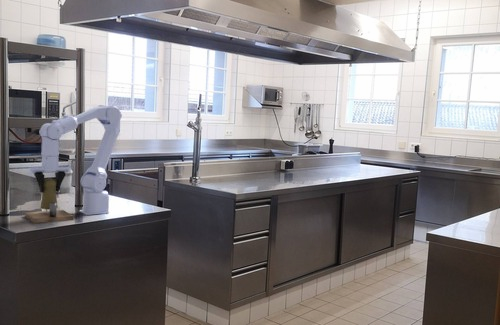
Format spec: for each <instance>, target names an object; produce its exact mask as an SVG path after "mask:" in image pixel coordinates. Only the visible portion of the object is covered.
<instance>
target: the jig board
mask: <svg viewBox="0 0 500 325" xmlns="http://www.w3.org/2000/svg"><path fill="white" fill-rule="evenodd" d="M49 215H50V210H43V211H29V212H27V211H26V212H25V213H24V217H25V218H27V219H28V220H29V221H30V222H31V223H33V224H39V223H50V222H61V221H72V220H74V215H73V214H71V213H70V212H67V211H66V210H64V209H57V215H56V217H49Z"/></svg>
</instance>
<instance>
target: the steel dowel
mask: <svg viewBox="0 0 500 325" xmlns="http://www.w3.org/2000/svg"><path fill="white" fill-rule="evenodd" d="M57 206H58V202H57V203H50V209H49V211H50V215H49V217H56V215H57V210H58V209H57Z"/></svg>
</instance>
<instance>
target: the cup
mask: <svg viewBox="0 0 500 325" xmlns="http://www.w3.org/2000/svg"><path fill="white" fill-rule="evenodd" d="M65 173H66V175H65V177H64V179H63V181H62V183H61V186H60V190H59V193H60V194H66V193H67V194H70V193H71V187H72V180H73V179H72V178H73V173H74V171H73V170H72V168H71V169H70V172H65Z"/></svg>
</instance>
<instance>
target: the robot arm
mask: <svg viewBox="0 0 500 325" xmlns="http://www.w3.org/2000/svg"><path fill="white" fill-rule="evenodd" d="M122 116H123V114H122V111H120V108H119V107H117V106H116V105H102V104H100V105H98V106H94V107H92V108H89V109H88V110H86V111H83V112H81V113H79V114H77V115H75V116H72V115H69V114H64V115H63V116H62V117H61V118H59V119H57V120H56V119H53V120H52V121H51V123H49V122H48V123H43V125H42V126H41V127H40V129H39V130H38V132H39V135H40V136H41V166H33V167H28V173H29V174H33V176H34V177H35V179H36V181H37V184H38V188H39V193H40V194H43V192H44V179H45V174H47V173H52V174H53V173H54V175H55V180H56V182H57V185H56V187H55V191H56V193H58V192H59V193H60V186H61V183H62V181H63V179H64V177H65V175H66V173H65V172H70V169H72V168H71V167H70V166H59V157H60V156H59V154H60V150H59V147H60V144H59V142H60V139H61V138H62V136H63V135H65V134H68V133H70V132H72V131H74V130H76V129H77V128H78V126H79V125H81V124H83V123H86V122H88V121H91V120H94V119H97V120H98V121H99V123H100V124H101V125H102V126H103V128H104V133H103V135H102V138H101V140H100V143H99V146H98V148H97V151H96V154H95V156H94V158H93V159H94V160H93V162H92V164H91V166H89V167H88V168H87V169H86V171H85V172H84V174H83V175H82V176H81V178H80V186H81V187H82V189H83V198H82V199H83V203H82V204H83V205H82V206H83V208H82V209H80V210H79V212H80V213H82V214H83V215H86V216H89V215H90V216H91V215H100V214H101V215H102V214H104V215H105V214H109V213H110V212H109V202H110V201H109V200H110V196H109V192H108V191H107V190H105V188H106V186H107V178H108V174H107V171H106V170H107V165H108V164H109V160H110V158H111V155H112V152H113V151H114V148H115V145H116V142H117V140H118V137H119V135H120V132H121V119H122ZM44 173H45V174H44Z"/></svg>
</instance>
